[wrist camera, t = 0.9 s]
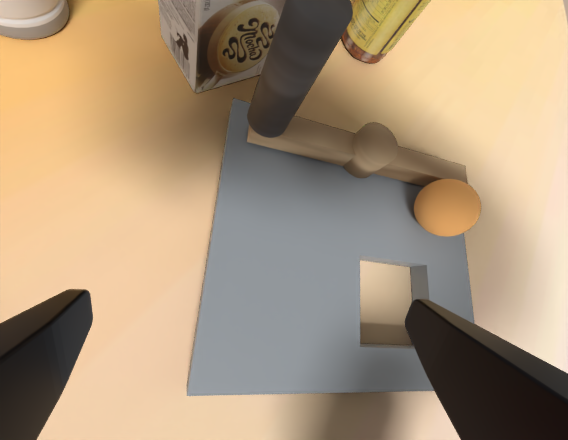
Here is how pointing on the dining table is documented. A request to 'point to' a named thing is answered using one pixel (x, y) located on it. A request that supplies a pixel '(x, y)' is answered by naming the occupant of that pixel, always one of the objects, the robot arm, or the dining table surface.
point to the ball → (447, 207)
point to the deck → (309, 275)
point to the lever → (315, 136)
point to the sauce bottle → (379, 26)
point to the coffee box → (219, 38)
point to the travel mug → (32, 18)
